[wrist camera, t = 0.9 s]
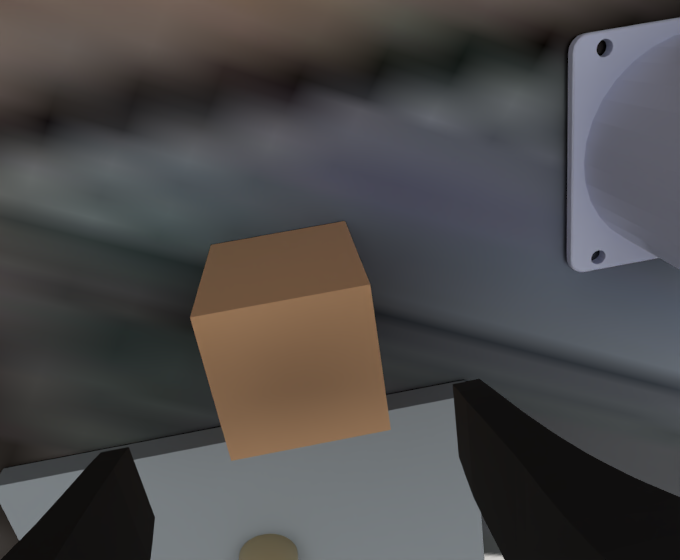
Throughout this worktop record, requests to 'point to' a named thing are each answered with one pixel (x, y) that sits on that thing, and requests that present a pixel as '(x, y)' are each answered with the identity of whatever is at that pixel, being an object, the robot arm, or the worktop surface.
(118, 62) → the worktop surface
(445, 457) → the board
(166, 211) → the worktop surface
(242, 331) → the tan wooden cube
